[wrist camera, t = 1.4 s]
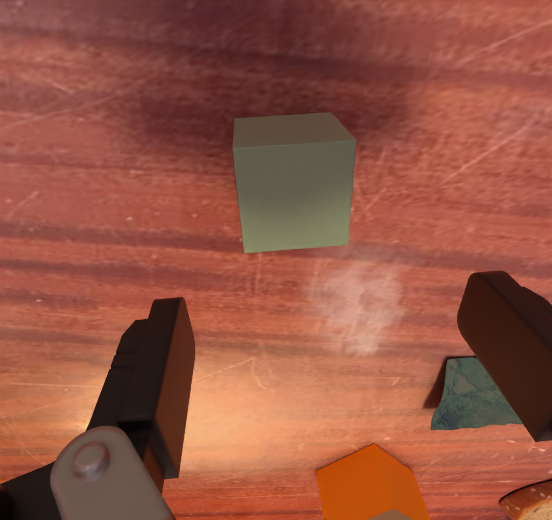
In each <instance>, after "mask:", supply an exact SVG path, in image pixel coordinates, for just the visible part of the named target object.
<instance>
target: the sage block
mask: <svg viewBox="0 0 552 520" xmlns="http://www.w3.org/2000/svg"><path fill="white" fill-rule="evenodd" d="M232 151H233V160H234V169H235V178H236V187H237V196H238V204H239V213H240V222H241V231H242V240H243V249H244V253H252V252H265V251H278V250H290V249H303V248H316V247H328V246H341V245H348V240H349V227H350V215H351V202H352V190H353V178H354V165H355V153H356V139H355V138H354V137H353V136H352V135H351V134H350V132H349V131H348V130H347V129H346V128H345V127H344V126H343V125H342V123H341V122H340V121H339V120H338V119H337V118H336V117H335V116H334V115H333V113H332V112H324V113H308V114H293V115H277V116H262V117H246V118H235V119H234V132H233V146H232Z"/></svg>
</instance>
